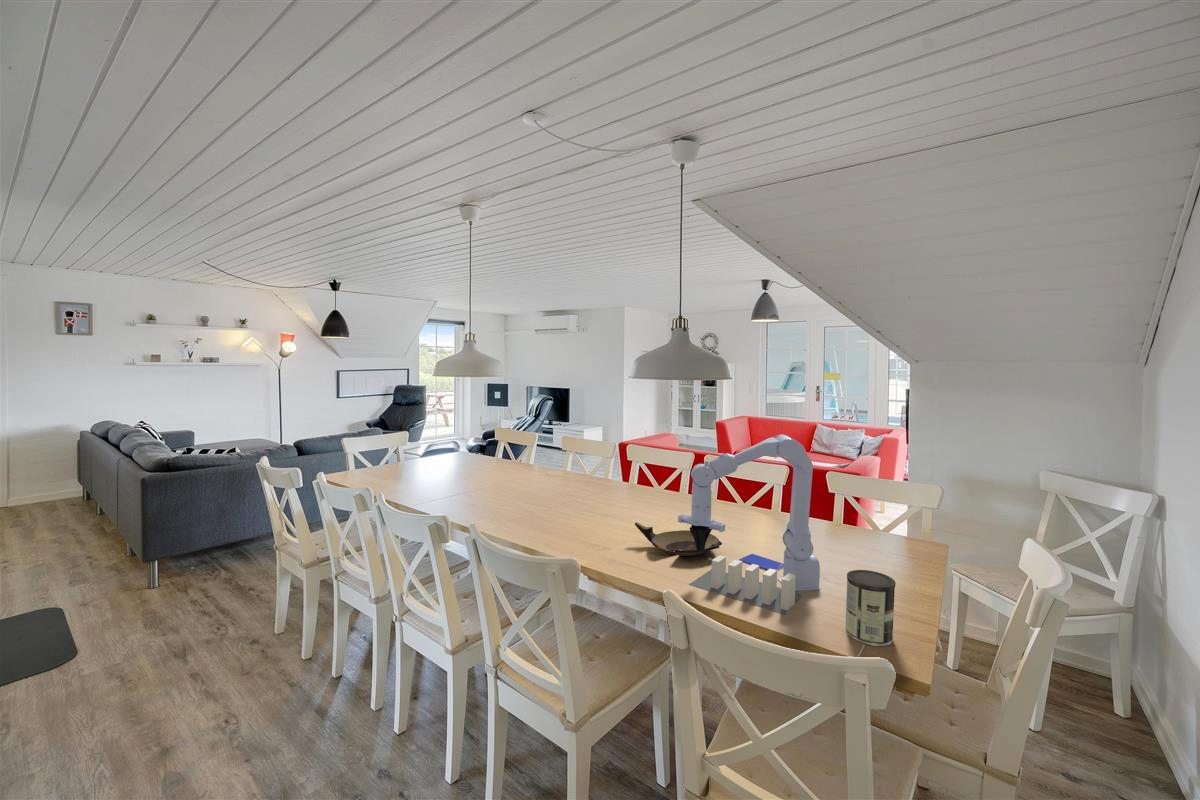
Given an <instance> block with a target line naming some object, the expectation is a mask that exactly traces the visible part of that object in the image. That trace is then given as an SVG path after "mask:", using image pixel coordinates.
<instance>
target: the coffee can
mask: <svg viewBox="0 0 1200 800" xmlns="http://www.w3.org/2000/svg"><path fill="white" fill-rule="evenodd" d="M895 589H896V581H895V579H894V578H892V577H891V576H889V575H887V574H884V573H882V572H878V571H873V570H867V569H853V570H850V571H848V572H847V573H846V600H845V601H846V604H845V605H846V607H845V632H846V633H847V635H848V636H849V637H851V638H853V639H855V641H856V640H857V641H859V642H861V643H863V644H864V645H867V646H872V647H886V646H889V645H892V643H893V641H894V639H893V636H894V611H895V610H894V608H895V593H896V592H895Z"/></svg>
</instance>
